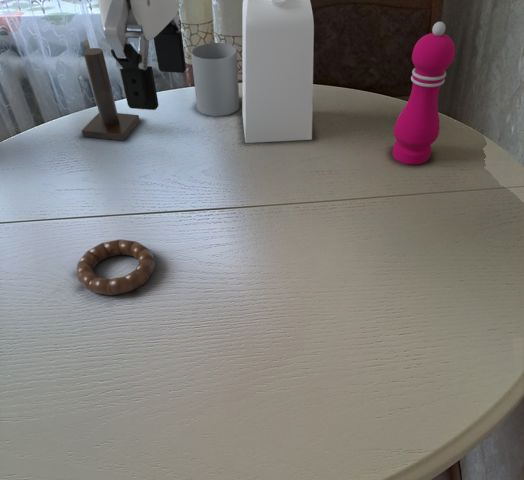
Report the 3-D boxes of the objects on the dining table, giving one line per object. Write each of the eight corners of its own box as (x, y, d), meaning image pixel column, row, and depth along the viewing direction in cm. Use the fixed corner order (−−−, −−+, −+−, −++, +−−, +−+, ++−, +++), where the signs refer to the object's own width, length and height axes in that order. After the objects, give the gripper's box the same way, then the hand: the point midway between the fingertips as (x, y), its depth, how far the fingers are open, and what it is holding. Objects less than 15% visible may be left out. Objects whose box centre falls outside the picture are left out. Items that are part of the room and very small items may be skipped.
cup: (191, 113, 97) (184, 57, 90) (204, 95, 103) (199, 41, 95) (233, 117, 96) (229, 61, 89) (244, 99, 101) (241, 44, 94)
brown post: (83, 136, 92) (59, 58, 82) (101, 117, 97) (82, 41, 87) (123, 141, 91) (104, 62, 81) (140, 121, 96) (124, 44, 86)
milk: (303, 111, 97) (311, -59, 78) (311, 139, 90) (322, -40, 70) (242, 114, 97) (234, -56, 77) (245, 142, 90) (237, -37, 70)
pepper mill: (380, 156, 86) (404, 22, 71) (405, 141, 89) (432, 10, 74) (416, 171, 82) (448, 34, 67) (440, 155, 86) (476, 21, 70)
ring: (66, 291, 65) (61, 279, 63) (99, 244, 71) (95, 232, 70) (138, 302, 63) (134, 291, 62) (165, 253, 69) (163, 242, 68)
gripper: (119, -137, 48) (153, 57, 61) (32, -107, 37) (95, 122, 50) (194, -137, 47) (212, 60, 60) (127, -107, 36) (166, 127, 49)
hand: (159, 88), depth 55 cm, fingers open, 9 cm apart
